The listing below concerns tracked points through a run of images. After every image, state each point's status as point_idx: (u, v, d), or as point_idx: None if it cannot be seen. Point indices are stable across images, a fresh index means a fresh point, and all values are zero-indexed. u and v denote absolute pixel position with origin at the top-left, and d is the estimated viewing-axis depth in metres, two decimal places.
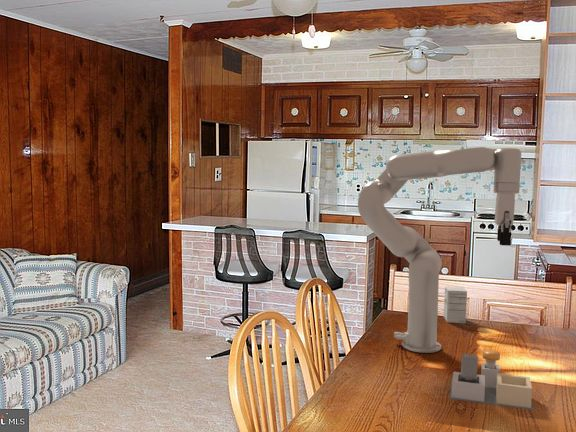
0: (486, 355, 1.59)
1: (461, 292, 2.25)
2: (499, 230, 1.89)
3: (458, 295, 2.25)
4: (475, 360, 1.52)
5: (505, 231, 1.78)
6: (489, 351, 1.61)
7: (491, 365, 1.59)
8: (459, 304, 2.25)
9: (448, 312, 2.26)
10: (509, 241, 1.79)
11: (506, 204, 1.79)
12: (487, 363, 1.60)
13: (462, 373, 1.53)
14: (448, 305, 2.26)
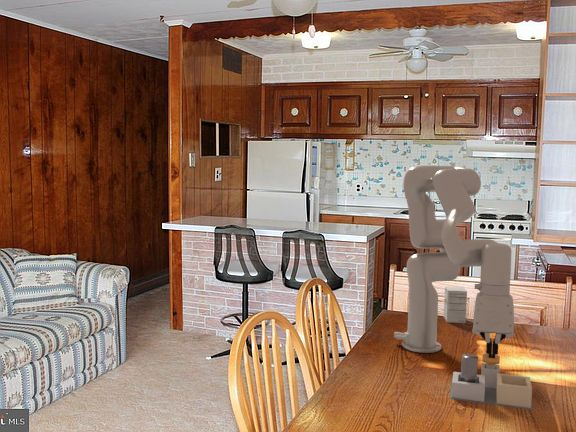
0: (486, 359, 1.59)
1: (461, 292, 2.25)
2: (492, 345, 1.59)
3: (458, 295, 2.25)
4: (475, 360, 1.52)
5: None
6: None
7: (491, 368, 1.59)
8: (459, 304, 2.25)
9: (448, 312, 2.26)
10: None
11: None
12: (487, 367, 1.60)
13: (462, 373, 1.53)
14: (448, 305, 2.26)
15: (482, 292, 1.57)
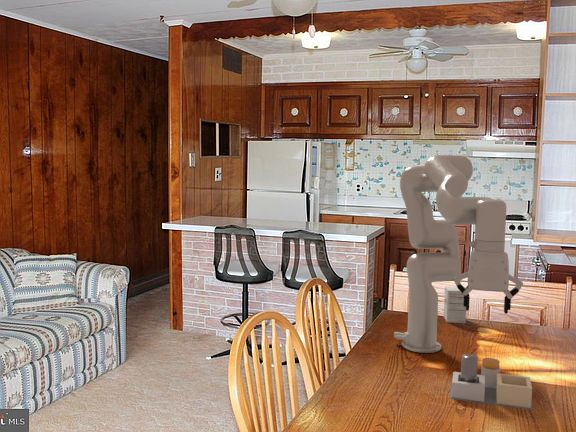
0: (486, 363, 1.59)
1: (461, 292, 2.25)
2: None
3: (458, 295, 2.25)
4: (475, 360, 1.52)
5: None
6: (489, 359, 1.61)
7: None
8: (459, 304, 2.25)
9: (448, 312, 2.26)
10: None
11: None
12: None
13: (462, 373, 1.53)
14: (448, 305, 2.26)
15: (477, 249, 1.54)
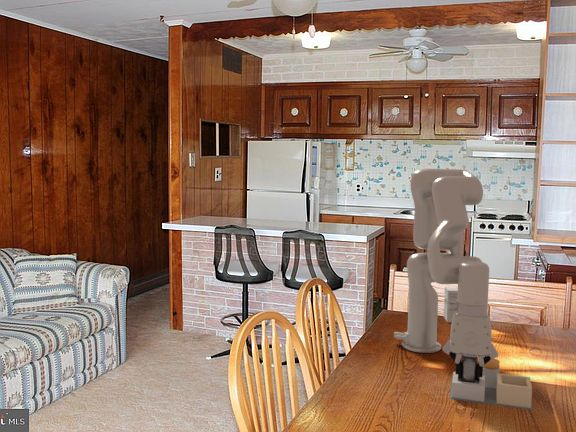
0: (486, 363, 1.59)
1: None
2: None
3: None
4: (475, 360, 1.52)
5: None
6: None
7: None
8: None
9: (448, 312, 2.26)
10: None
11: None
12: None
13: (462, 373, 1.53)
14: (448, 305, 2.26)
15: (459, 312, 1.51)
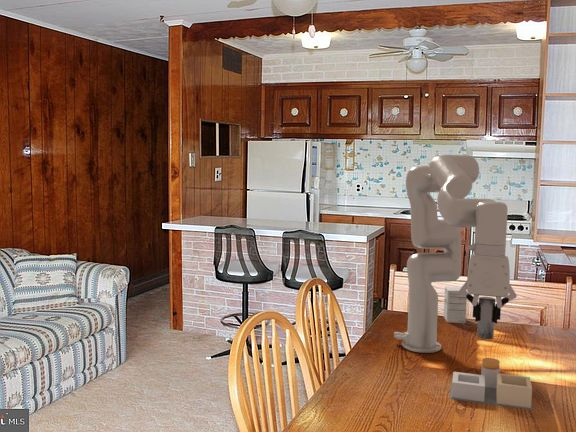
0: (486, 363, 1.59)
1: None
2: (478, 308, 1.51)
3: (458, 295, 2.25)
4: (493, 301, 1.49)
5: None
6: (489, 359, 1.61)
7: None
8: (459, 304, 2.25)
9: (448, 312, 2.26)
10: None
11: None
12: None
13: (479, 315, 1.51)
14: (448, 305, 2.26)
15: (476, 253, 1.49)
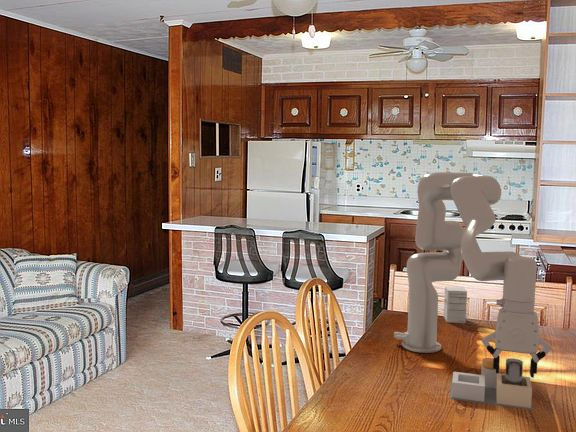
0: (486, 363, 1.59)
1: (461, 292, 2.25)
2: (499, 360, 1.50)
3: (458, 295, 2.25)
4: (520, 364, 1.49)
5: None
6: (489, 359, 1.61)
7: None
8: (459, 304, 2.25)
9: (448, 312, 2.26)
10: None
11: None
12: None
13: (507, 378, 1.50)
14: (448, 305, 2.26)
15: (505, 309, 1.48)
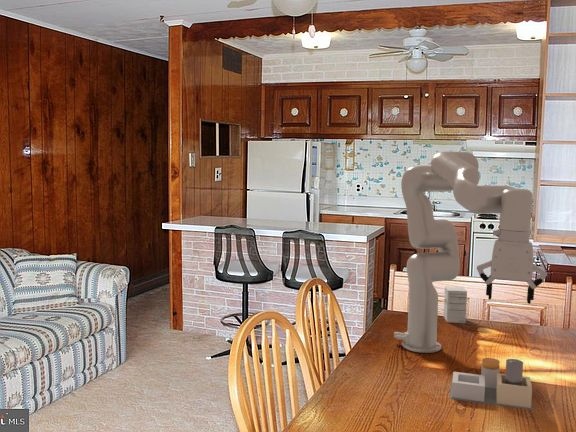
0: (486, 363, 1.59)
1: (461, 292, 2.25)
2: None
3: (458, 295, 2.25)
4: (521, 365, 1.49)
5: None
6: (489, 359, 1.61)
7: None
8: (459, 304, 2.25)
9: (448, 312, 2.26)
10: None
11: None
12: None
13: (507, 378, 1.50)
14: (448, 305, 2.26)
15: (501, 238, 1.53)
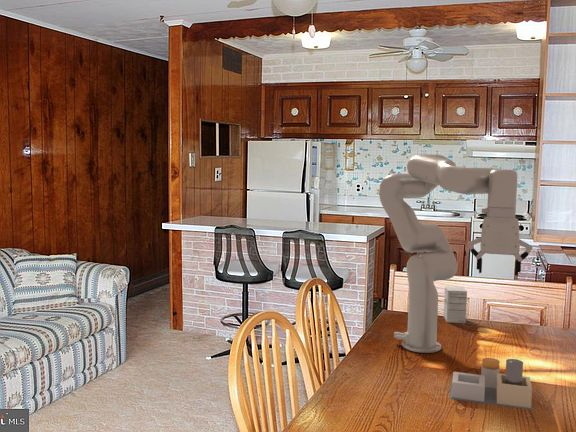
0: (486, 363, 1.59)
1: (461, 292, 2.25)
2: None
3: (458, 295, 2.25)
4: (521, 365, 1.49)
5: None
6: (489, 359, 1.61)
7: None
8: (459, 304, 2.25)
9: (448, 312, 2.26)
10: None
11: None
12: None
13: (507, 378, 1.50)
14: (448, 305, 2.26)
15: (489, 215, 1.65)
